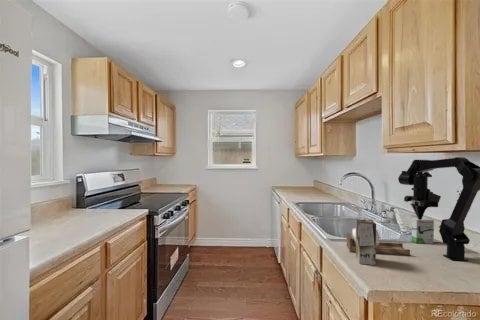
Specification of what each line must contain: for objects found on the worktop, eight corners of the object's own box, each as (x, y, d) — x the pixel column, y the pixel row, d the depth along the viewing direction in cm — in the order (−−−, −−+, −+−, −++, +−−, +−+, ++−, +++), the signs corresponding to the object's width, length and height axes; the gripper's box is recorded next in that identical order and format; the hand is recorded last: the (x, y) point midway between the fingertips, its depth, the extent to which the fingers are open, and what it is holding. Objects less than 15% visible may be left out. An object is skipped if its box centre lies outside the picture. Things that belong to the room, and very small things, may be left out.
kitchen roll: (375, 245, 143) (375, 227, 143) (379, 250, 135) (379, 231, 135) (351, 243, 145) (352, 226, 145) (354, 248, 137) (354, 230, 137)
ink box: (416, 243, 151) (416, 219, 151) (411, 240, 156) (411, 217, 156) (434, 243, 151) (434, 219, 151) (428, 241, 156) (428, 217, 155)
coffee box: (376, 265, 120) (376, 223, 120) (358, 264, 121) (359, 223, 121) (371, 257, 129) (371, 219, 129) (355, 256, 130) (355, 218, 130)
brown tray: (402, 248, 142) (402, 235, 142) (409, 256, 131) (410, 242, 131) (346, 245, 147) (346, 232, 147) (349, 252, 136) (350, 238, 136)
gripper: (450, 188, 135) (450, 224, 135) (426, 184, 154) (426, 215, 154) (425, 188, 135) (424, 223, 135) (403, 184, 154) (403, 215, 154)
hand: (419, 219), depth 145 cm, fingers closed
